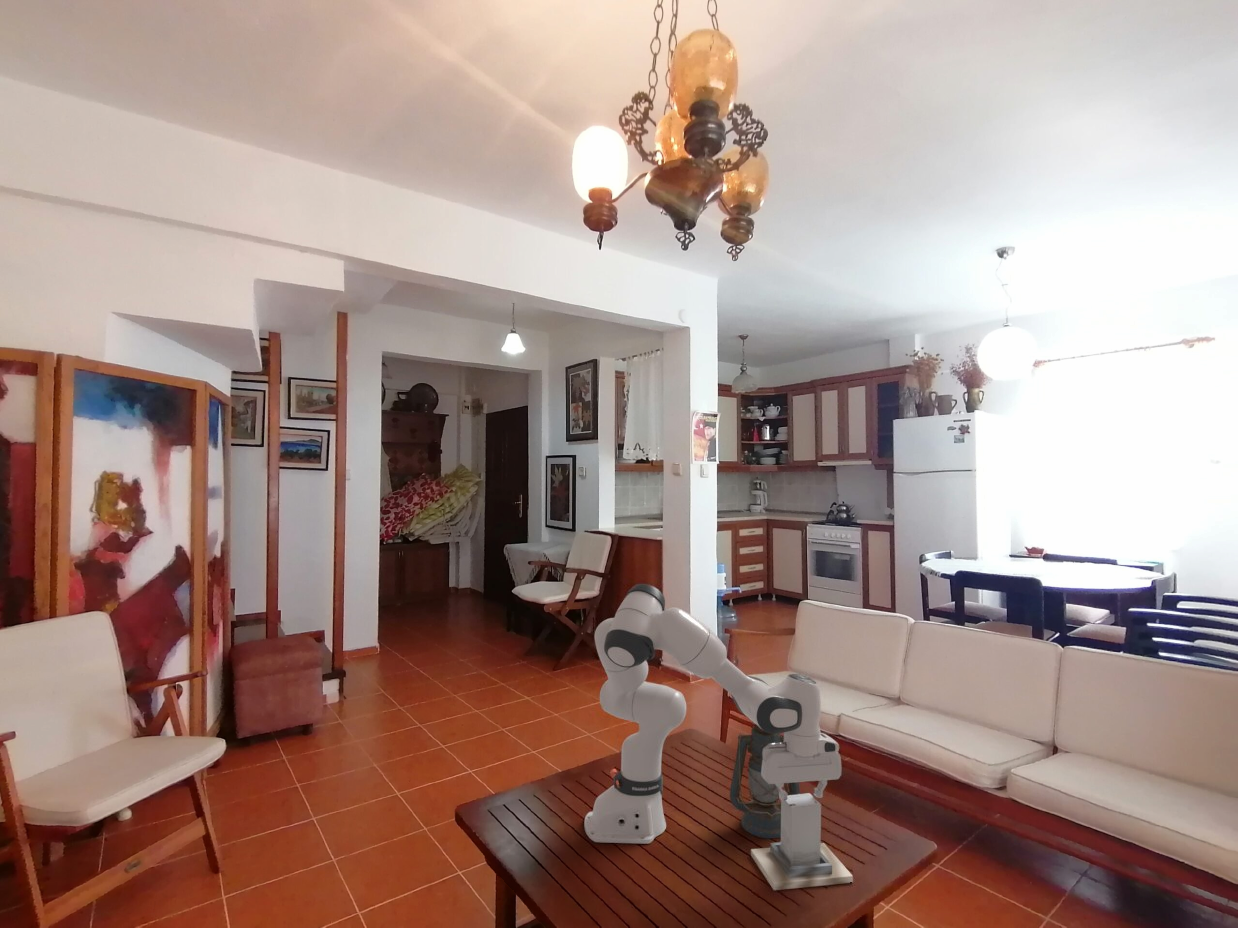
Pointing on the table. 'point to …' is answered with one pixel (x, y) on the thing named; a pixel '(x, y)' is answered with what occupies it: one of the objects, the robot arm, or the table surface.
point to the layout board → (799, 869)
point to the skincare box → (801, 829)
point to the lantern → (758, 787)
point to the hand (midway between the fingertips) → (800, 797)
